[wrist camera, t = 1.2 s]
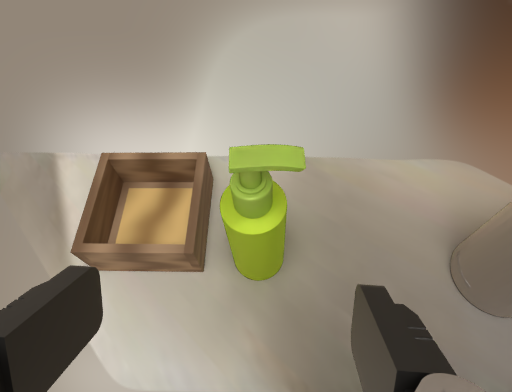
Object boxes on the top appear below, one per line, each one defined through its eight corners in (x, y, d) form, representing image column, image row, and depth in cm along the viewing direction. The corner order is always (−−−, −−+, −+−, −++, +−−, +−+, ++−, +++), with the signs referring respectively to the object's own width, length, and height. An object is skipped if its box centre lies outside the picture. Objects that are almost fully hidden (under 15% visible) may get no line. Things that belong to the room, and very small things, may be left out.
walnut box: (213, 179, 47) (205, 152, 42) (203, 271, 41) (193, 253, 35) (120, 179, 48) (101, 152, 43) (95, 270, 41) (70, 252, 36)
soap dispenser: (293, 279, 40) (309, 189, 22) (233, 281, 40) (203, 192, 23) (290, 233, 43) (302, 121, 25) (234, 234, 43) (208, 125, 26)
